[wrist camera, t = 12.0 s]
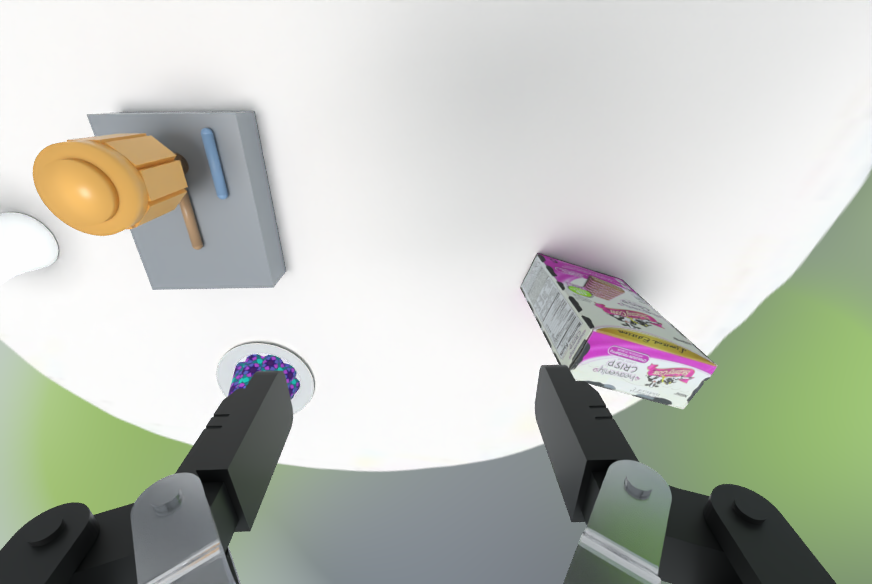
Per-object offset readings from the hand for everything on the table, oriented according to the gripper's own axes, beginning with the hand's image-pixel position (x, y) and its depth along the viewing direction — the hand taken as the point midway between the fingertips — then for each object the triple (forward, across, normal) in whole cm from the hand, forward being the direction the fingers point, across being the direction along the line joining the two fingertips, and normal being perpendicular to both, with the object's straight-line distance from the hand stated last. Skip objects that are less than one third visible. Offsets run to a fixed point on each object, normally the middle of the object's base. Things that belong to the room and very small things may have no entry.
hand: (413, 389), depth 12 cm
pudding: (+31, +20, +24) cm, 44 cm away
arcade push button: (+22, +21, -3) cm, 30 cm away
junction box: (+30, +21, +1) cm, 37 cm away
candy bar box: (+30, -17, +11) cm, 36 cm away
